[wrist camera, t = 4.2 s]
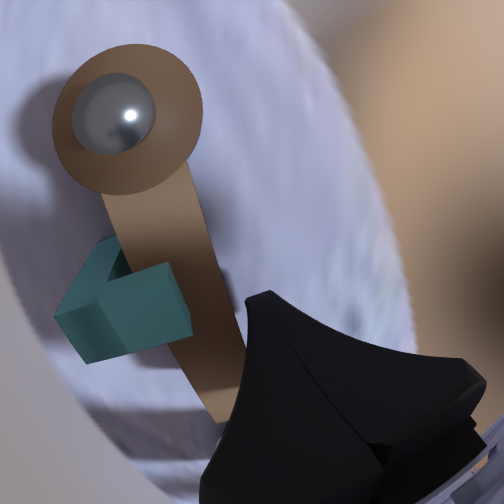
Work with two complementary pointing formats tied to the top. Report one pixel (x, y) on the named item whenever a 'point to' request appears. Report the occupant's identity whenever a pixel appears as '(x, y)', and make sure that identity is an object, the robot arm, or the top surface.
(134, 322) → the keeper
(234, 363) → the latch bar
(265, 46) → the top surface
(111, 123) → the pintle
